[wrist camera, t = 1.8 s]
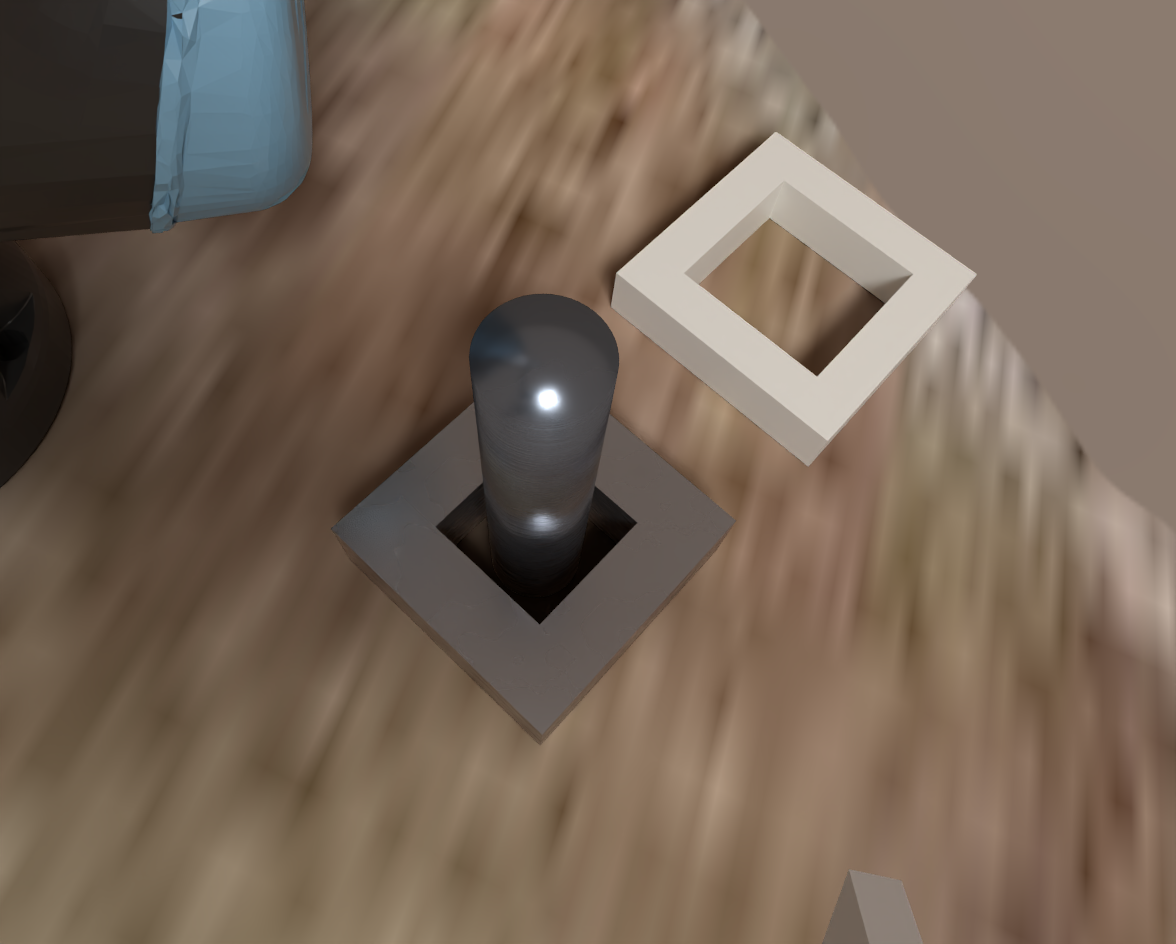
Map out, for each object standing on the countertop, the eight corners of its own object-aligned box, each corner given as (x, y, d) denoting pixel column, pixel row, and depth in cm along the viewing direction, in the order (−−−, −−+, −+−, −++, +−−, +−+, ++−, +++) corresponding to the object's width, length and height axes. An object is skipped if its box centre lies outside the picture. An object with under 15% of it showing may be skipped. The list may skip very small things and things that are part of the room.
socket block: (349, 559, 33) (330, 528, 30) (532, 392, 36) (533, 349, 33) (540, 745, 31) (542, 734, 27) (716, 550, 34) (736, 520, 31)
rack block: (610, 306, 38) (616, 272, 36) (762, 170, 42) (775, 131, 39) (808, 466, 36) (827, 441, 33) (950, 307, 39) (976, 274, 37)
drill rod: (473, 556, 33) (437, 357, 19) (534, 496, 34) (542, 269, 21) (537, 616, 32) (547, 453, 19) (597, 553, 34) (649, 356, 20)
